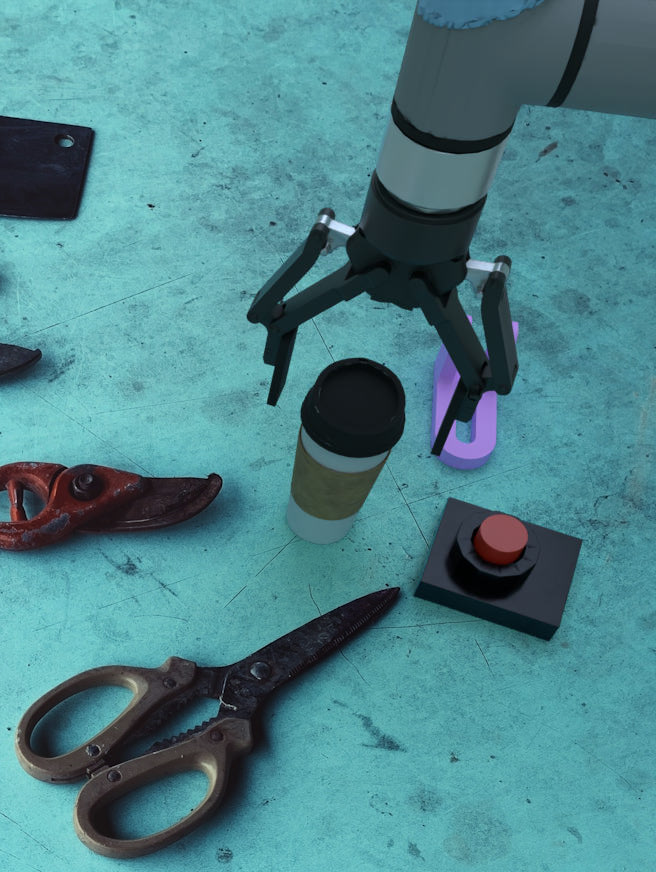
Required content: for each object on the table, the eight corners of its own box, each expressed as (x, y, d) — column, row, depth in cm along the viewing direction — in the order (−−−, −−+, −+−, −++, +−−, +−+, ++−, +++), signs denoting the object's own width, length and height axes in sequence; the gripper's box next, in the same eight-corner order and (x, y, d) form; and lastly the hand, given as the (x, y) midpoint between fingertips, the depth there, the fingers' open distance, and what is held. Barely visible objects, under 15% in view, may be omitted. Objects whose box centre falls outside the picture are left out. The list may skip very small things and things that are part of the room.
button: (525, 536, 102) (532, 523, 101) (514, 571, 101) (522, 558, 99) (479, 521, 103) (486, 508, 101) (468, 556, 101) (475, 542, 100)
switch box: (573, 555, 106) (592, 525, 102) (549, 642, 102) (568, 614, 98) (441, 512, 108) (455, 482, 104) (412, 596, 104) (426, 567, 100)
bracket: (434, 363, 116) (457, 304, 110) (492, 371, 116) (518, 312, 109) (429, 464, 110) (453, 409, 104) (490, 473, 110) (518, 418, 104)
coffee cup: (368, 489, 109) (416, 362, 95) (362, 563, 105) (411, 441, 92) (276, 475, 109) (311, 347, 96) (267, 548, 106) (302, 425, 92)
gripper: (636, 192, 77) (520, 431, 96) (265, 96, 81) (224, 343, 100) (614, 267, 73) (498, 498, 92) (229, 164, 78) (194, 405, 97)
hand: (356, 418), depth 96 cm, fingers open, 13 cm apart
